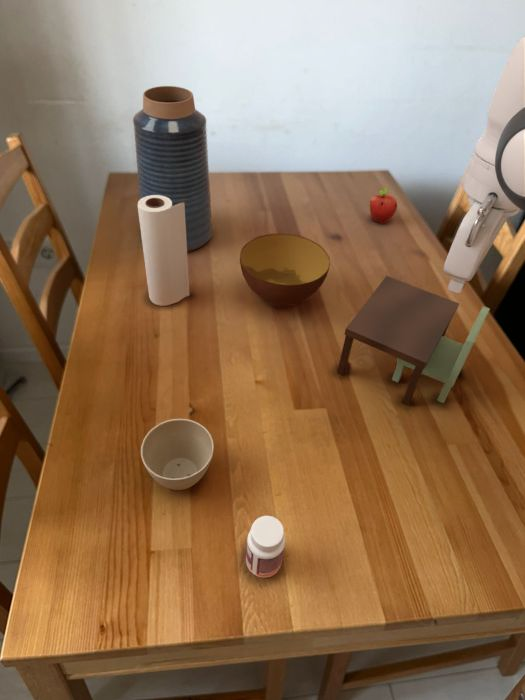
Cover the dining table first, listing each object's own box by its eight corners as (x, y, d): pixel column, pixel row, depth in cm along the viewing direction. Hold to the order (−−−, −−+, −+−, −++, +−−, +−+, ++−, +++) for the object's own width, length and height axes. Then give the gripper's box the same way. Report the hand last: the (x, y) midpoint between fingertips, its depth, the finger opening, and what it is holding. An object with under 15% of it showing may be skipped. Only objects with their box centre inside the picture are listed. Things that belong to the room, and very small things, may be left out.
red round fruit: (365, 212, 134) (373, 176, 127) (390, 214, 135) (400, 178, 128) (368, 228, 129) (376, 191, 122) (395, 230, 129) (405, 193, 122)
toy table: (440, 347, 99) (459, 303, 91) (408, 407, 88) (426, 363, 80) (374, 319, 104) (386, 275, 96) (335, 373, 93) (345, 328, 85)
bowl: (225, 284, 109) (225, 243, 102) (296, 265, 116) (301, 226, 109) (262, 335, 99) (266, 294, 92) (339, 311, 105) (347, 271, 98)
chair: (460, 370, 95) (490, 308, 84) (444, 404, 88) (473, 342, 78) (409, 348, 98) (431, 286, 88) (390, 380, 92) (411, 317, 81)
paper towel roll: (143, 300, 104) (130, 204, 89) (160, 284, 108) (151, 190, 93) (172, 312, 102) (164, 216, 87) (189, 296, 106) (184, 201, 91)
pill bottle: (287, 554, 68) (294, 524, 62) (270, 585, 65) (275, 557, 59) (257, 536, 70) (260, 505, 64) (238, 565, 67) (240, 536, 61)
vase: (184, 262, 114) (175, 116, 92) (128, 238, 119) (107, 95, 97) (225, 231, 124) (226, 92, 102) (172, 210, 130) (162, 74, 108)
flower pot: (131, 482, 75) (125, 454, 70) (176, 436, 81) (173, 407, 76) (184, 519, 71) (181, 492, 66) (227, 468, 77) (228, 440, 72)
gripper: (508, 223, 55) (465, 321, 64) (546, 159, 67) (505, 248, 77) (451, 205, 57) (417, 302, 67) (497, 146, 70) (464, 234, 79)
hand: (465, 272), depth 72 cm, fingers open, 8 cm apart
